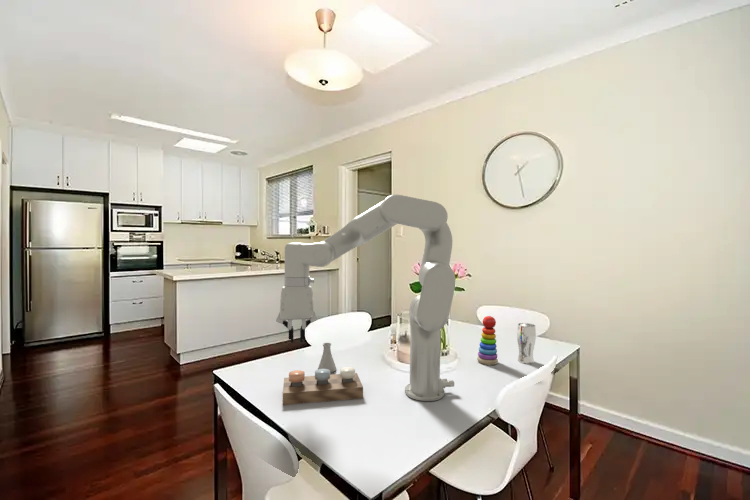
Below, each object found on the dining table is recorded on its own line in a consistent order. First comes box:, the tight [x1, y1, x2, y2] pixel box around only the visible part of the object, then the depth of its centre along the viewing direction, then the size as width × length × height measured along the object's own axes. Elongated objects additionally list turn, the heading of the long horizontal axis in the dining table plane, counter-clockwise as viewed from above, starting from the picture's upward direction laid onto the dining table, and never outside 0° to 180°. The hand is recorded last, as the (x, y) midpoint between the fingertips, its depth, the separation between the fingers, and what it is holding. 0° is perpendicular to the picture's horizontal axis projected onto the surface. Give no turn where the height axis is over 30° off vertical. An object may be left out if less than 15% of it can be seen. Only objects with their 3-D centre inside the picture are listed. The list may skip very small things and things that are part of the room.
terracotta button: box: [288, 369, 306, 387], centre depth 113 cm, size 5×5×6 cm
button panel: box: [282, 372, 364, 406], centre depth 114 cm, size 24×12×4 cm, turn 102°
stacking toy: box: [476, 315, 499, 366], centre depth 145 cm, size 8×8×19 cm
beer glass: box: [516, 322, 537, 365], centre depth 146 cm, size 7×7×15 cm
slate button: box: [314, 368, 331, 385], centre depth 114 cm, size 5×5×6 cm
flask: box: [317, 342, 337, 374], centre depth 134 cm, size 7×7×10 cm
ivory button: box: [339, 366, 356, 383], centre depth 116 cm, size 5×5×6 cm
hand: (296, 340), depth 112 cm, fingers closed
